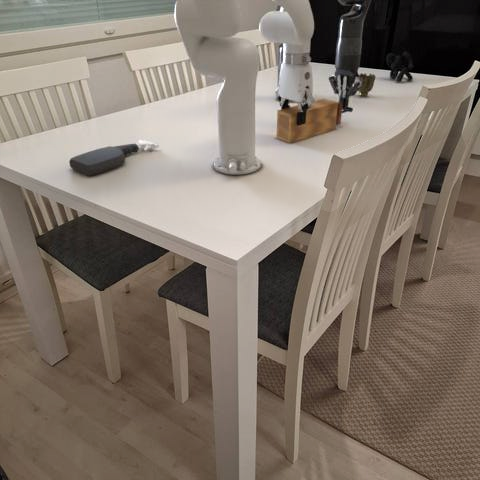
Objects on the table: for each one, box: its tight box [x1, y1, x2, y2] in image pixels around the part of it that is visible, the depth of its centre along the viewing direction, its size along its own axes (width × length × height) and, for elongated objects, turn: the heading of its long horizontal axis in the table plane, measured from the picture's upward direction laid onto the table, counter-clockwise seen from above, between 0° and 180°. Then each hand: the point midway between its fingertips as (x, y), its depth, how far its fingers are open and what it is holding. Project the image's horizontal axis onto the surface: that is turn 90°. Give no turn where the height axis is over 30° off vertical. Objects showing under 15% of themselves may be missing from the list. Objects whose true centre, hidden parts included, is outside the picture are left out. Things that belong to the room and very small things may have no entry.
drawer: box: [330, 99, 354, 126], centre depth 142 cm, size 25×5×7 cm, turn 128°
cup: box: [357, 73, 377, 97], centre depth 176 cm, size 8×7×8 cm
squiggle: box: [385, 51, 414, 83], centre depth 198 cm, size 11×10×15 cm
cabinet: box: [276, 98, 339, 144], centre depth 139 cm, size 20×6×9 cm, turn 128°
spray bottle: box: [68, 139, 160, 177], centre depth 124 cm, size 3×11×24 cm
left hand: (293, 121), depth 135 cm, fingers closed on cabinet, 6 cm apart
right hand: (342, 108), depth 147 cm, fingers closed
